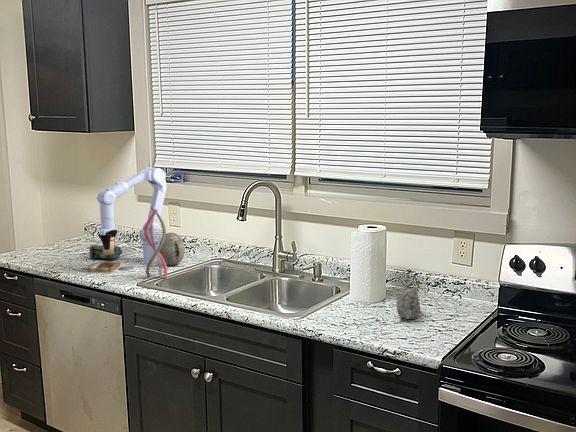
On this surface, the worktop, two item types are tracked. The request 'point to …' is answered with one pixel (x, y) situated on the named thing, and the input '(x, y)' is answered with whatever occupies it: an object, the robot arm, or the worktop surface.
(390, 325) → the worktop surface
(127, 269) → the coaster
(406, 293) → the rock
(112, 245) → the pot
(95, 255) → the sculpture
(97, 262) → the cold frame
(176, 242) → the decorative egg
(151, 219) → the dna model
